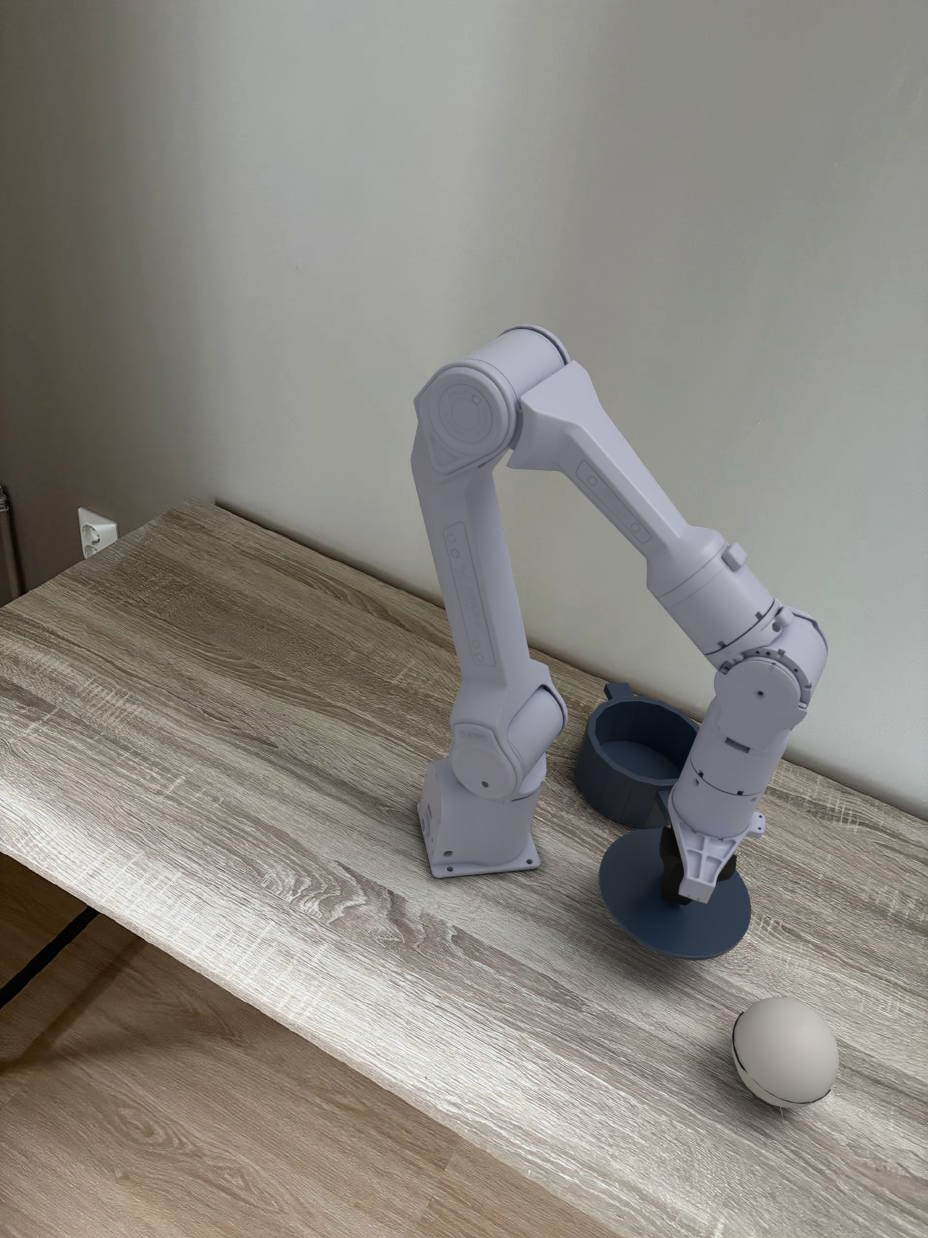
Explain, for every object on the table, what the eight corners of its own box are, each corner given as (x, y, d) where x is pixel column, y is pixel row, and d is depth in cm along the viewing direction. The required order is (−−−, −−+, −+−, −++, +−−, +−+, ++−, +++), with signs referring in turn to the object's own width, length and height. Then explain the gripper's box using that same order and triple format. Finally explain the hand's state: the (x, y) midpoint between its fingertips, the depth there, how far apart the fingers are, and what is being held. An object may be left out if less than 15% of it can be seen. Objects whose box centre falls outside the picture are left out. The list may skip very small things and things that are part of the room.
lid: (627, 975, 72) (643, 937, 69) (576, 842, 81) (589, 805, 78) (773, 956, 75) (795, 919, 72) (709, 830, 84) (725, 794, 81)
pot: (606, 857, 86) (622, 813, 83) (552, 723, 99) (564, 679, 95) (722, 846, 89) (743, 803, 86) (655, 717, 102) (670, 675, 98)
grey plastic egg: (729, 1012, 76) (760, 959, 71) (823, 1058, 74) (861, 1006, 70) (697, 1128, 68) (730, 1077, 64) (802, 1183, 67) (843, 1133, 62)
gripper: (782, 860, 63) (718, 979, 71) (790, 717, 74) (734, 833, 82) (674, 825, 64) (623, 945, 72) (698, 689, 75) (652, 806, 83)
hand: (676, 884), depth 77 cm, fingers closed on lid, 2 cm apart
